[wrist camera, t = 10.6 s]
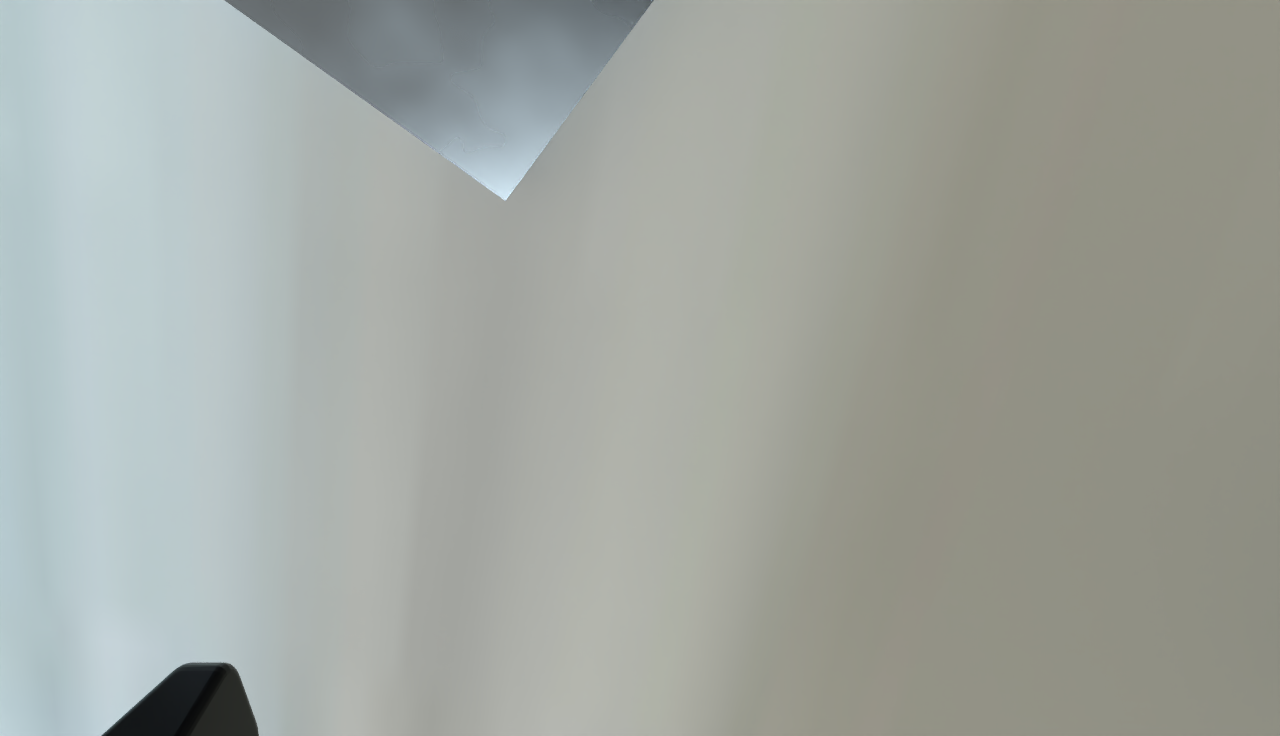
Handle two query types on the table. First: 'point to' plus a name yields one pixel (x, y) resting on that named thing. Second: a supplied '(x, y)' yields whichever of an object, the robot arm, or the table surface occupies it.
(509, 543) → the table surface
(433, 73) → the grey piece
